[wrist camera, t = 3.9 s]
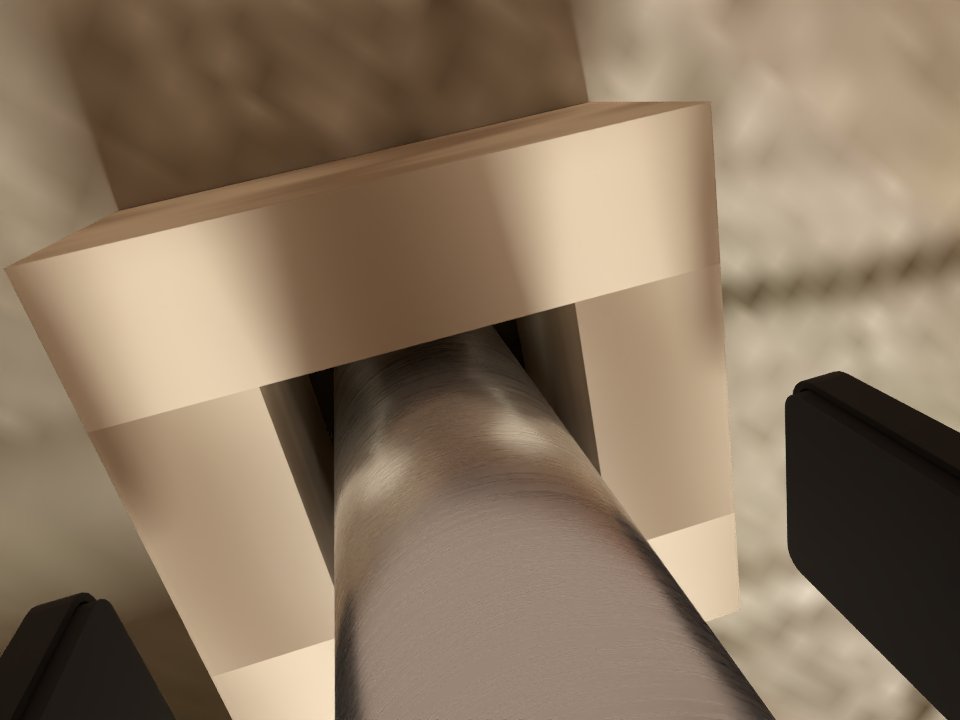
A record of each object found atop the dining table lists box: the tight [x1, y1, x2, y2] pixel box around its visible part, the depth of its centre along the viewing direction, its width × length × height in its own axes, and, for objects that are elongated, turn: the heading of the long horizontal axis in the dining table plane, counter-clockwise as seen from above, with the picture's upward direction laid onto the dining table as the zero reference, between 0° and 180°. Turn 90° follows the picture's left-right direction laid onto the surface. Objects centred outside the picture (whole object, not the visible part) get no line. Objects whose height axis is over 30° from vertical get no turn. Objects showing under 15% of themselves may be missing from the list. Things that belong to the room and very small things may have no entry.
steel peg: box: [334, 325, 776, 720], centre depth 10 cm, size 4×4×12 cm
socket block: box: [4, 101, 740, 720], centre depth 13 cm, size 10×10×5 cm
